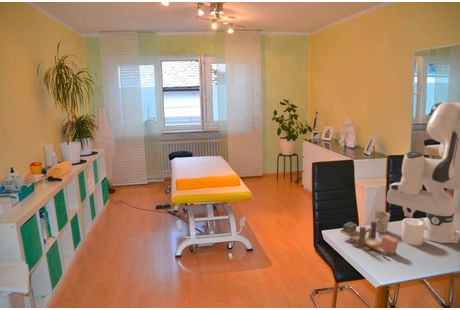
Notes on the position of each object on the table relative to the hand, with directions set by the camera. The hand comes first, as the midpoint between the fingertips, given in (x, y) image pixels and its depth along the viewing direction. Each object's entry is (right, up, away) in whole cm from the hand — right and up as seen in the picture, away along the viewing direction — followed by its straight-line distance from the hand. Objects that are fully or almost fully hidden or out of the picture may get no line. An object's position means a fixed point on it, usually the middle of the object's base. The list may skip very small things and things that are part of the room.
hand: (408, 216), depth 161 cm
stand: (-9, -18, +15) cm, 26 cm away
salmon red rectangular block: (-5, -18, +10) cm, 21 cm away
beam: (-12, -16, +19) cm, 28 cm away
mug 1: (+1, -15, +34) cm, 37 cm away
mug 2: (+14, -17, +22) cm, 31 cm away
